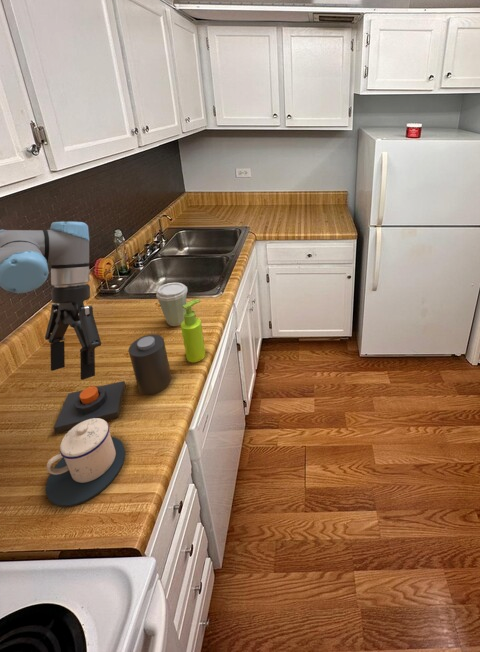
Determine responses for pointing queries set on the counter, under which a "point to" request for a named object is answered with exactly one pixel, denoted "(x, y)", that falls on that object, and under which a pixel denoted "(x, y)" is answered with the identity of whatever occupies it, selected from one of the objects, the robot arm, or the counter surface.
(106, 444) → the teacup with lid
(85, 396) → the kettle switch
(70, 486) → the mat
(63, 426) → the kettle base
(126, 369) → the counter surface
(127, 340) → the counter surface
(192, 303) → the soap dispenser
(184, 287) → the disposable coffee cup
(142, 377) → the dark grey cylinder
